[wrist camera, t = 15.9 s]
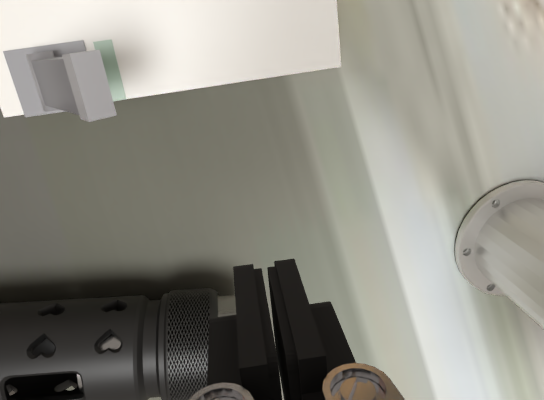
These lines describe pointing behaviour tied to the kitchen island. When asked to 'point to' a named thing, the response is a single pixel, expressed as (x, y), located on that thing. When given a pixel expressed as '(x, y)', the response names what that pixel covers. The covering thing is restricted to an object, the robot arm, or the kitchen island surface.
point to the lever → (73, 83)
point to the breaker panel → (165, 43)
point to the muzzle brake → (109, 346)
